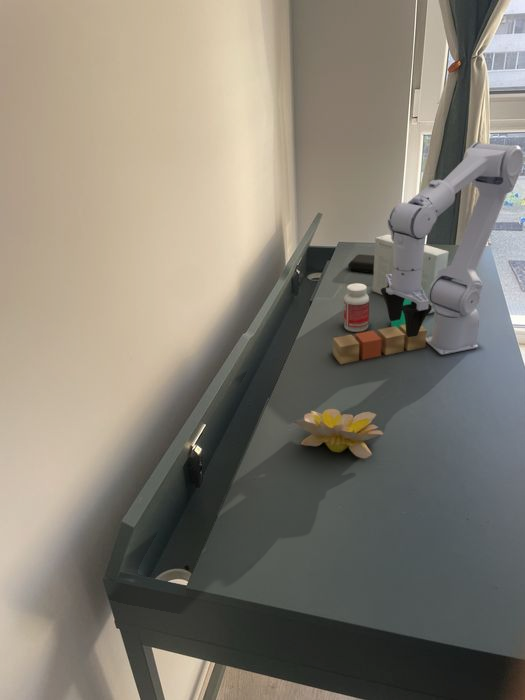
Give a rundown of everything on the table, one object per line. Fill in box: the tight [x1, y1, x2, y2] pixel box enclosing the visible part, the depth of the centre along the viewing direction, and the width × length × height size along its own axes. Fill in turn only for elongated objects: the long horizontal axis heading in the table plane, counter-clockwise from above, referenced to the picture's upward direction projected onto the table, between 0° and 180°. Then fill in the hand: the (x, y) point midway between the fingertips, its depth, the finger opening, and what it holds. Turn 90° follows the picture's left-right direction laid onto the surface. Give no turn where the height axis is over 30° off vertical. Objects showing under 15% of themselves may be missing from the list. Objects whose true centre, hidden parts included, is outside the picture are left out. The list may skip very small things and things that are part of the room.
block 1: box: [332, 334, 360, 365], centre depth 120 cm, size 4×4×4 cm
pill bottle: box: [343, 282, 370, 333], centre depth 131 cm, size 6×6×11 cm
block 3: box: [399, 324, 428, 351], centre depth 123 cm, size 4×4×4 cm
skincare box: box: [372, 233, 449, 315], centre depth 141 cm, size 21×5×16 cm, turn 34°
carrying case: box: [347, 253, 375, 274], centre depth 166 cm, size 11×3×15 cm
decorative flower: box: [293, 408, 384, 459], centre depth 93 cm, size 15×11×10 cm
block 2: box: [377, 326, 405, 356], centre depth 122 cm, size 4×4×4 cm
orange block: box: [354, 330, 382, 361], centre depth 121 cm, size 4×4×4 cm
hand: (403, 327), depth 110 cm, fingers open, 7 cm apart
